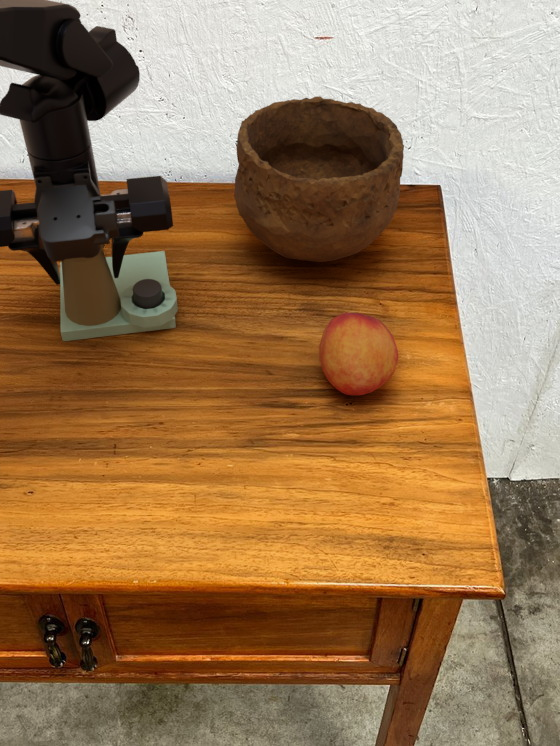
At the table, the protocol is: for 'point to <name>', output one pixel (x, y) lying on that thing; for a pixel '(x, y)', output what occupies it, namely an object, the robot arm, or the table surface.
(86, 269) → the brown game pawn
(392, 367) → the fruit
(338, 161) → the bowl
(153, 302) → the dark brown cylinder
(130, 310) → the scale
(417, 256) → the table surface
